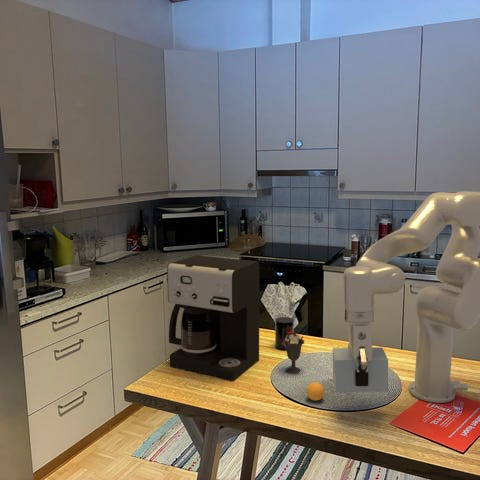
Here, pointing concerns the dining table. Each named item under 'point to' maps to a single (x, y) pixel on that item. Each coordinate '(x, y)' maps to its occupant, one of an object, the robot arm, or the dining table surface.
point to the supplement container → (282, 331)
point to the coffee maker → (215, 315)
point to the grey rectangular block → (347, 367)
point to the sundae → (293, 349)
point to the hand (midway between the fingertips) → (359, 377)
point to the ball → (315, 391)
